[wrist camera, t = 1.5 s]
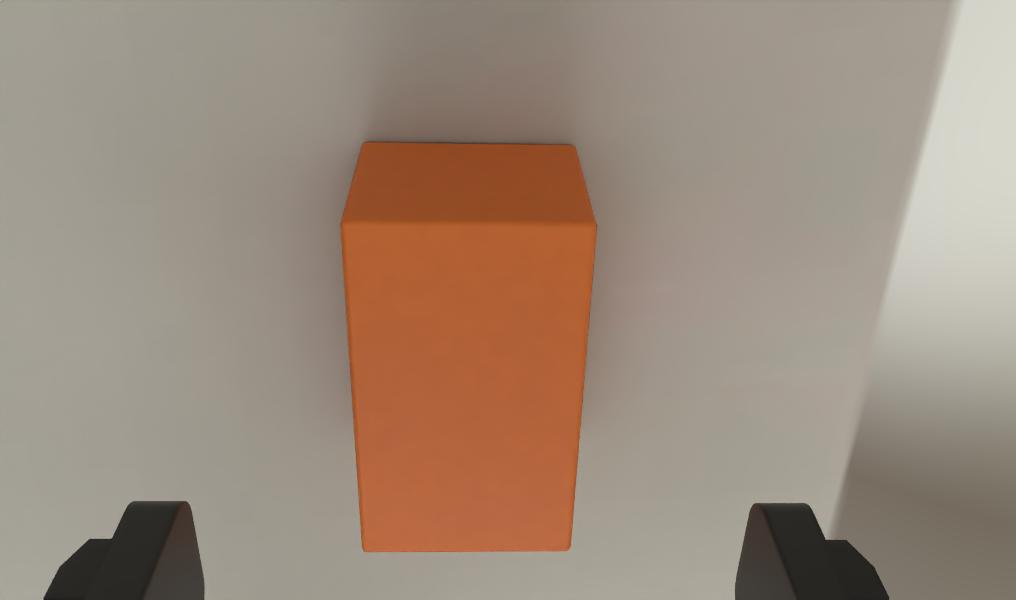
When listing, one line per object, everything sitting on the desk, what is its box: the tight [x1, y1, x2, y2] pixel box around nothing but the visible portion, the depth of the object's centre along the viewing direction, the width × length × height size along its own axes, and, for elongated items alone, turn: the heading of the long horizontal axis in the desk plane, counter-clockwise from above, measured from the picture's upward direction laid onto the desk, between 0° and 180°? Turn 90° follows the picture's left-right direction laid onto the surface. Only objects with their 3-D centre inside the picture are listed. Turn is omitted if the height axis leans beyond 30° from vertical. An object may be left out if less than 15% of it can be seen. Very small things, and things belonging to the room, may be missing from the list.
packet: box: [340, 142, 597, 552], centre depth 18 cm, size 7×4×4 cm, turn 178°
